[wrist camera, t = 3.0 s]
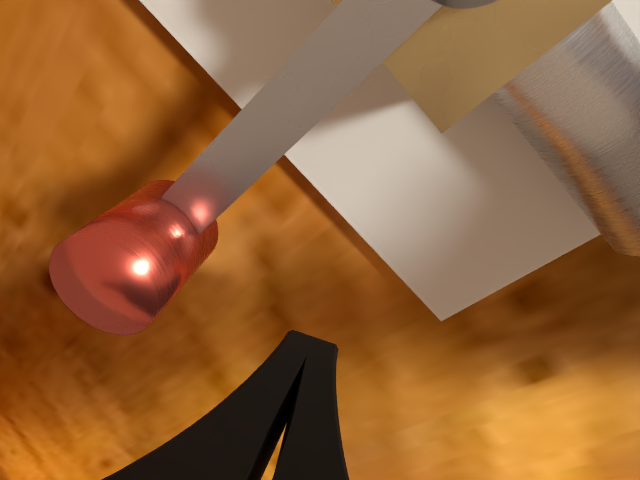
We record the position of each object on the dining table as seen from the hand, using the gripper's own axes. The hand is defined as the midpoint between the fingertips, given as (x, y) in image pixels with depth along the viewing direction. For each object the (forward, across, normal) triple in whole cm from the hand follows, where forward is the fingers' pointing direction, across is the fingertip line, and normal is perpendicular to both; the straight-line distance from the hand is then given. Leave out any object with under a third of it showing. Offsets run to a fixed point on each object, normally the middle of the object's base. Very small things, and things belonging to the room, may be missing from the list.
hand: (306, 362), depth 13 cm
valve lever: (0, +2, -7) cm, 7 cm away
